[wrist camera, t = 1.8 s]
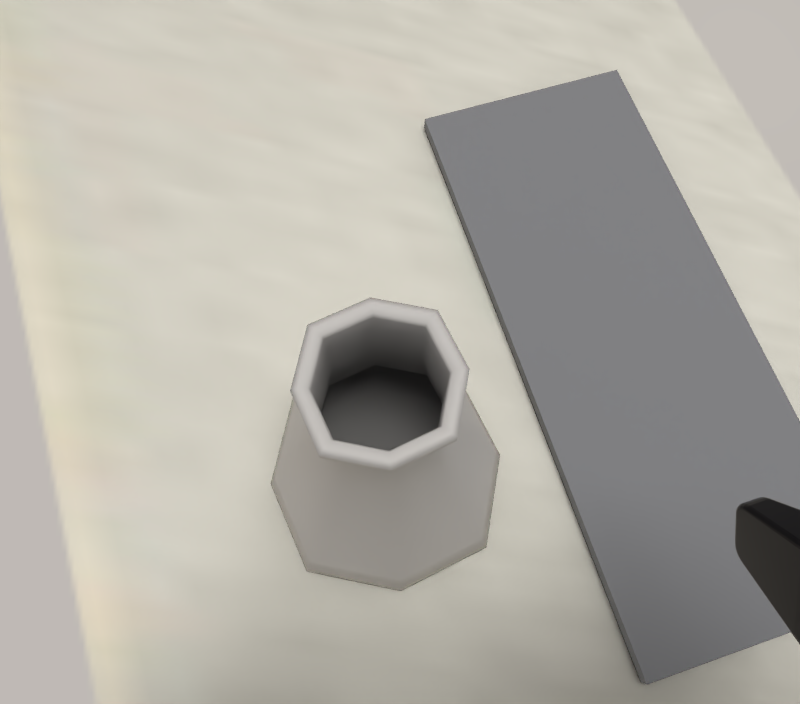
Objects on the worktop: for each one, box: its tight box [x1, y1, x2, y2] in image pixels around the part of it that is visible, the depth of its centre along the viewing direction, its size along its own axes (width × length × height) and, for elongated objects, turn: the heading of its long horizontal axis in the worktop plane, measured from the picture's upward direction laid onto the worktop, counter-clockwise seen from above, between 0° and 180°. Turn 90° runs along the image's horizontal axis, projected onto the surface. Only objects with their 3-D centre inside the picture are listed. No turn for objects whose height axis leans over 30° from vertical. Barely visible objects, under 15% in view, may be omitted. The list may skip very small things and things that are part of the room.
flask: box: [271, 298, 500, 591], centre depth 17 cm, size 7×7×10 cm
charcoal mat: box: [424, 70, 800, 684], centre depth 23 cm, size 20×8×1 cm, turn 17°
